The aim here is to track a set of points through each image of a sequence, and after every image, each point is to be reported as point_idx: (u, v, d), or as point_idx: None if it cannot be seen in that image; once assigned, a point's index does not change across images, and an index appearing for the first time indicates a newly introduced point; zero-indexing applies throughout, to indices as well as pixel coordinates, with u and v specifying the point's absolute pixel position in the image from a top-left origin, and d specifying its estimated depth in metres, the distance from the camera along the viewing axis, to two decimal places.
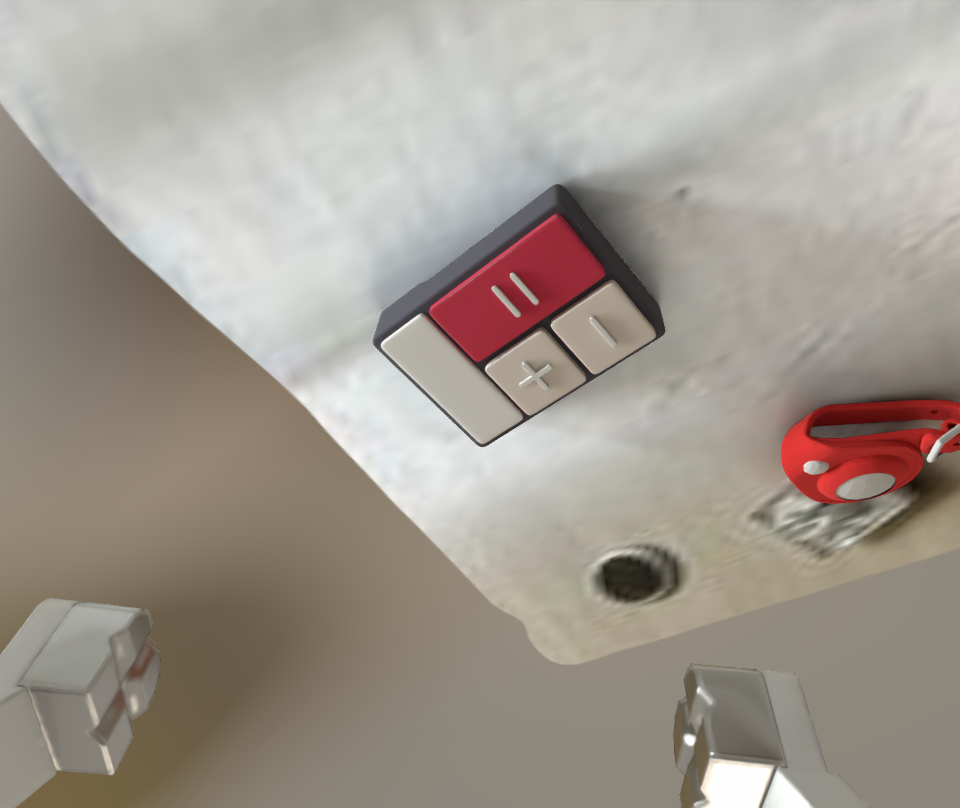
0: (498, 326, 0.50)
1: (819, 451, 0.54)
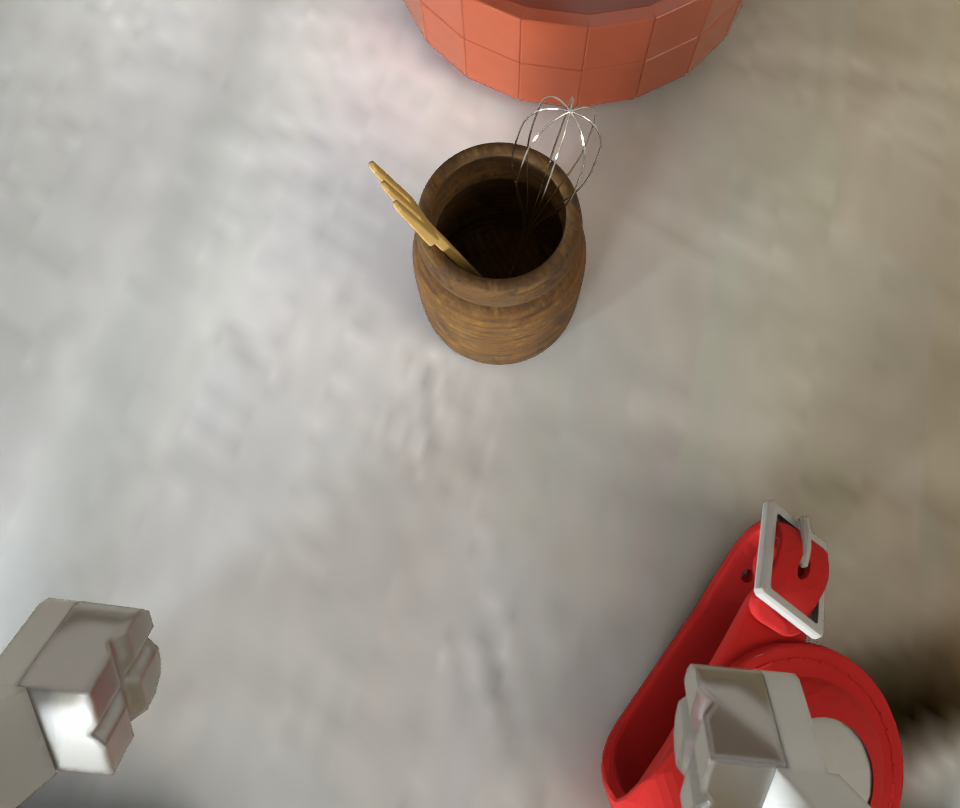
0: None
1: (654, 802, 0.25)
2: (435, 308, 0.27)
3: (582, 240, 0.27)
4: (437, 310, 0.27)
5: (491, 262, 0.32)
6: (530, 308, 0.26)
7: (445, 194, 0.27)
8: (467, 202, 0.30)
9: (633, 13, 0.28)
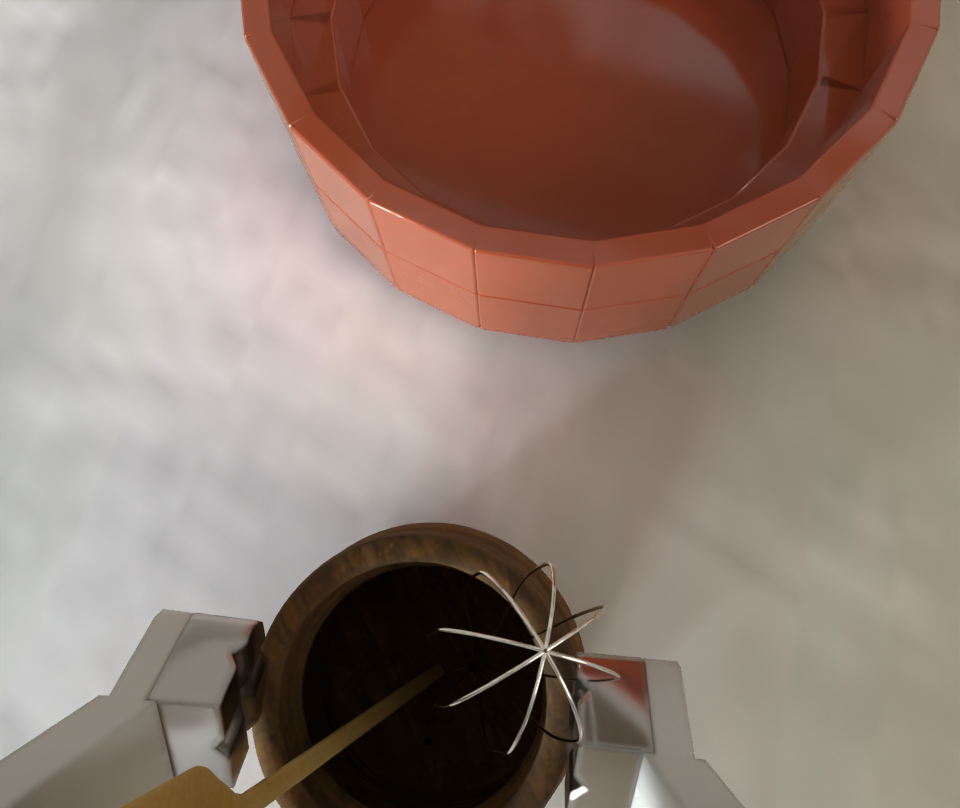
0: None
1: None
2: None
3: None
4: None
5: (432, 608, 0.19)
6: None
7: (320, 608, 0.14)
8: None
9: (674, 239, 0.16)
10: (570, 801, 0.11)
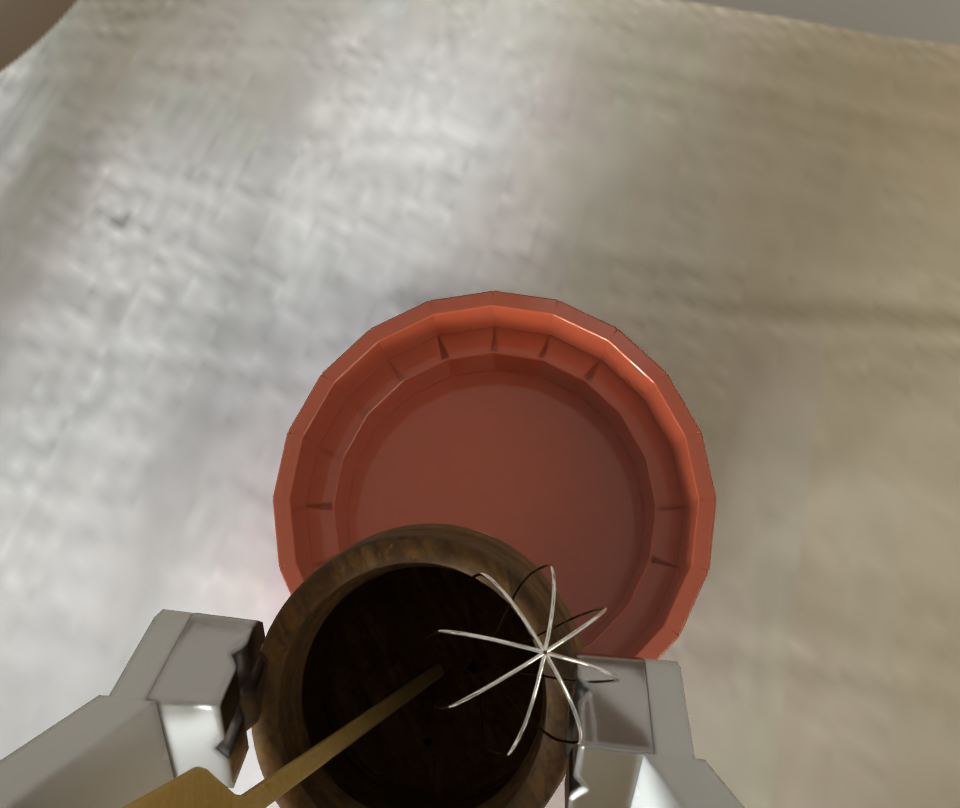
0: None
1: None
2: None
3: None
4: None
5: (432, 609, 0.19)
6: None
7: (320, 609, 0.14)
8: None
9: None
10: (570, 801, 0.11)
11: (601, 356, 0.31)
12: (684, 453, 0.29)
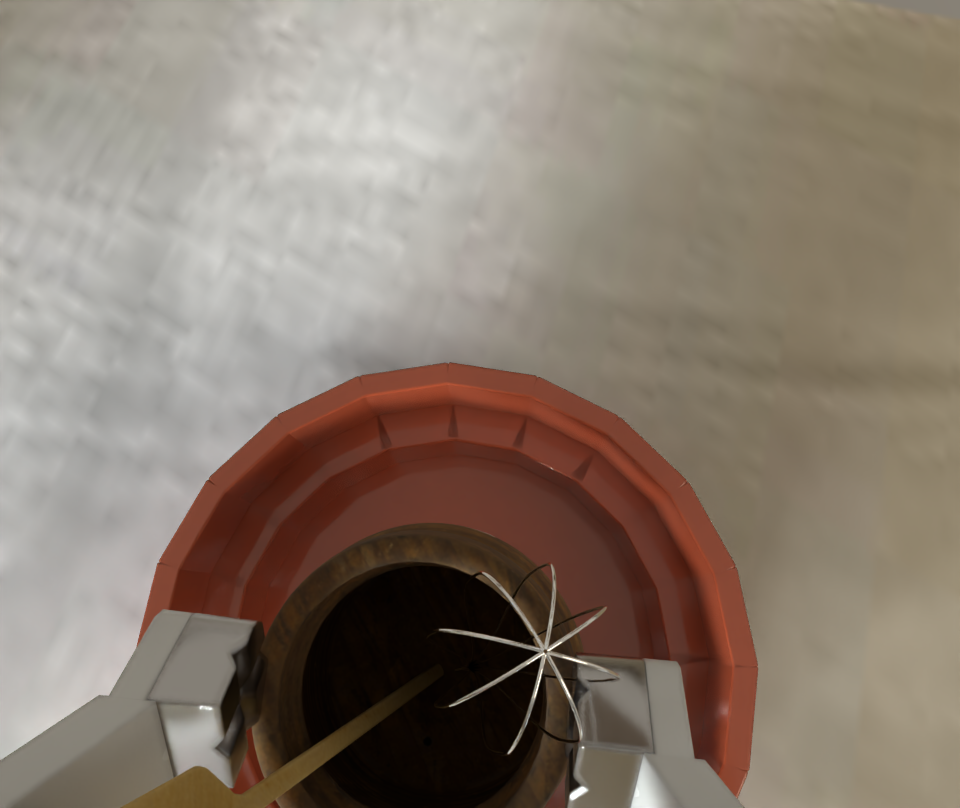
0: None
1: None
2: None
3: None
4: None
5: (432, 608, 0.19)
6: None
7: (320, 609, 0.14)
8: None
9: None
10: (570, 801, 0.11)
11: (597, 447, 0.23)
12: (712, 594, 0.20)
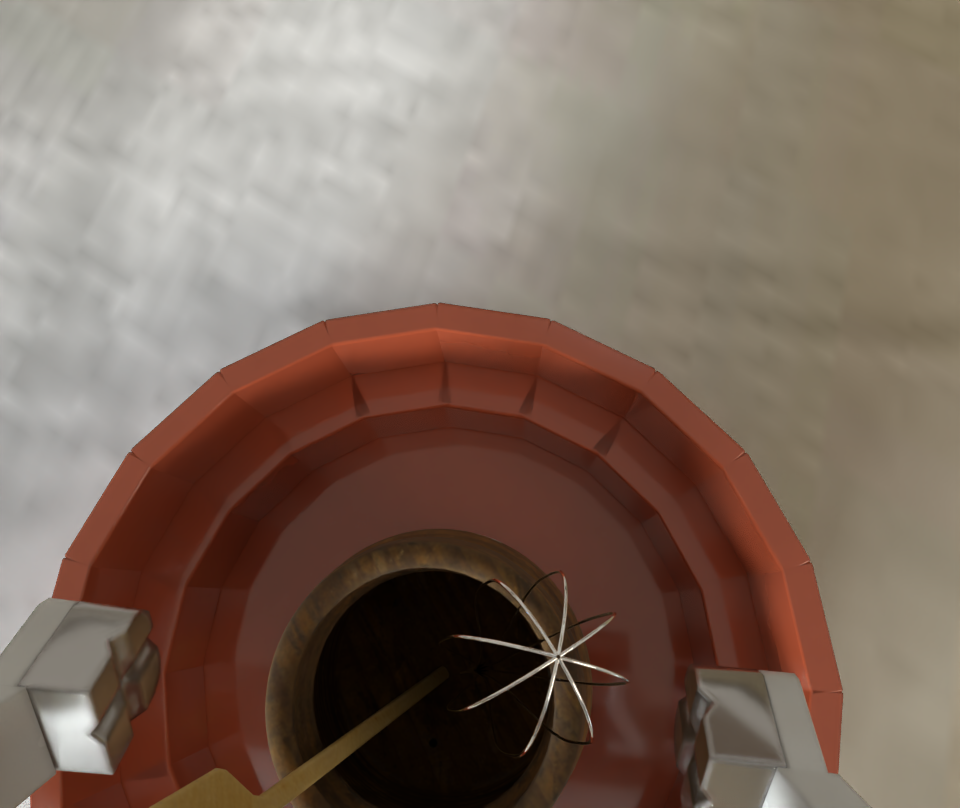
0: None
1: None
2: None
3: (586, 688, 0.15)
4: None
5: (437, 612, 0.20)
6: None
7: (331, 613, 0.14)
8: None
9: None
10: None
11: (625, 413, 0.18)
12: (778, 597, 0.16)
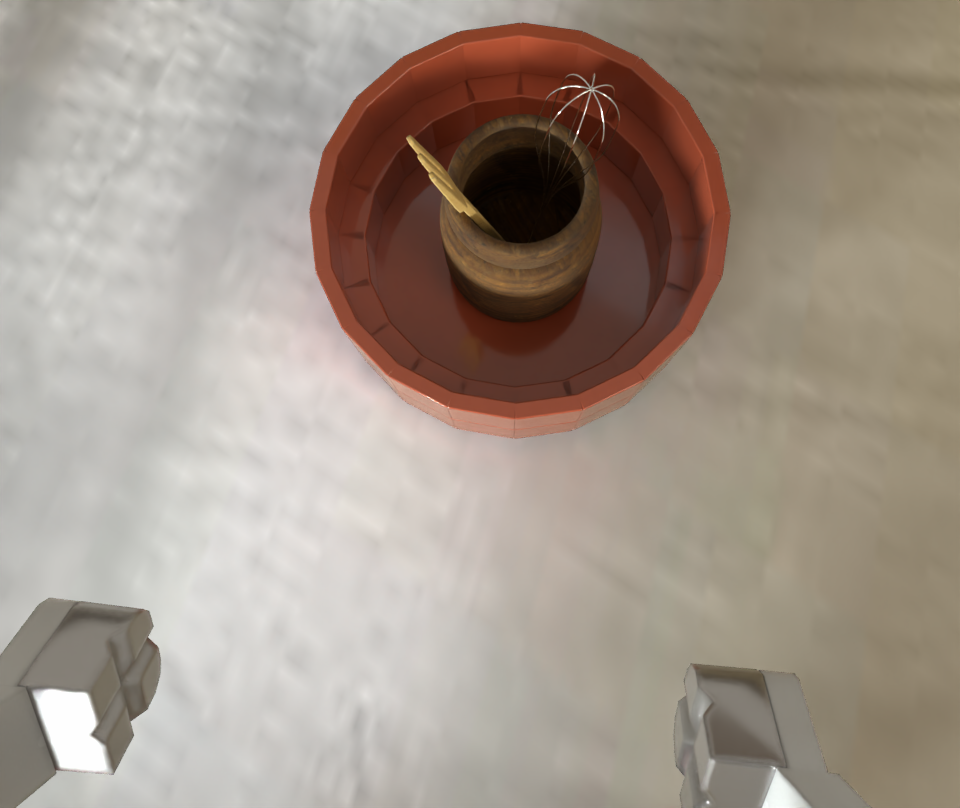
0: None
1: None
2: (460, 269, 0.29)
3: (599, 207, 0.29)
4: (462, 271, 0.29)
5: (511, 225, 0.34)
6: (549, 270, 0.28)
7: (471, 162, 0.29)
8: (490, 168, 0.31)
9: (560, 403, 0.28)
10: None
11: (623, 97, 0.32)
12: (701, 176, 0.30)
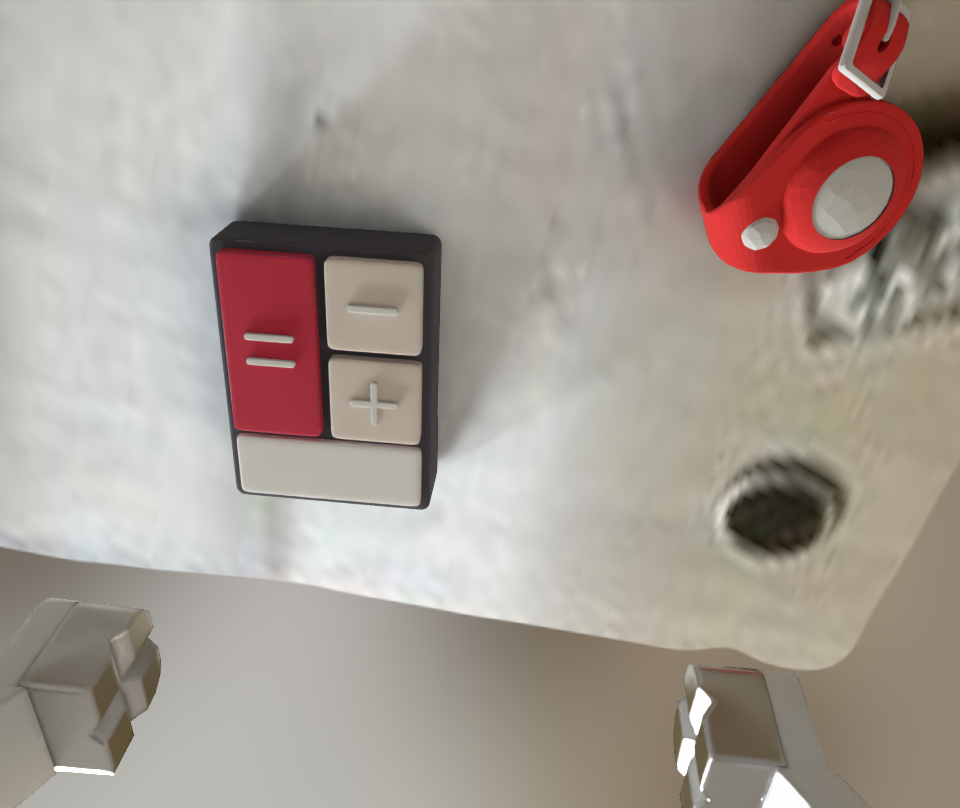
0: (293, 389, 0.42)
1: (734, 215, 0.36)
2: None
3: None
4: None
5: None
6: None
7: None
8: None
9: None
10: None
11: None
12: None
